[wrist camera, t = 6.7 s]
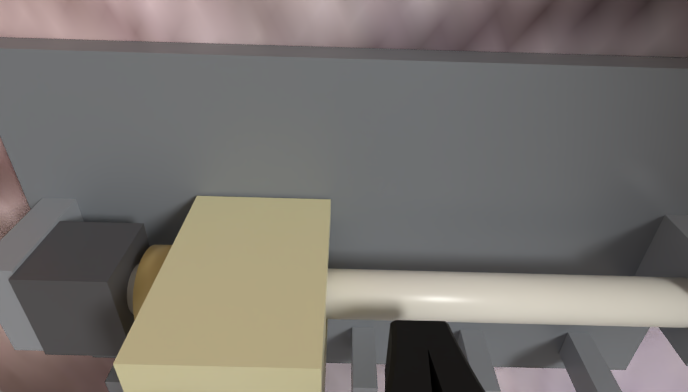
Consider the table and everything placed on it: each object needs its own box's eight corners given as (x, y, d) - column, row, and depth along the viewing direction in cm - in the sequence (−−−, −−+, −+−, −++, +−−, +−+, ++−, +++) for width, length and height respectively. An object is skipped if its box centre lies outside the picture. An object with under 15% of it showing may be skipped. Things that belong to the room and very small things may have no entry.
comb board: (766, 60, 13) (941, 130, 9) (613, 349, 19) (677, 458, 15) (-11, 37, 12) (-166, 98, 9) (104, 336, 19) (44, 445, 15)
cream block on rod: (330, 199, 14) (321, 368, 9) (329, 287, 16) (321, 465, 11) (196, 195, 14) (113, 364, 9) (212, 283, 16) (150, 461, 11)
